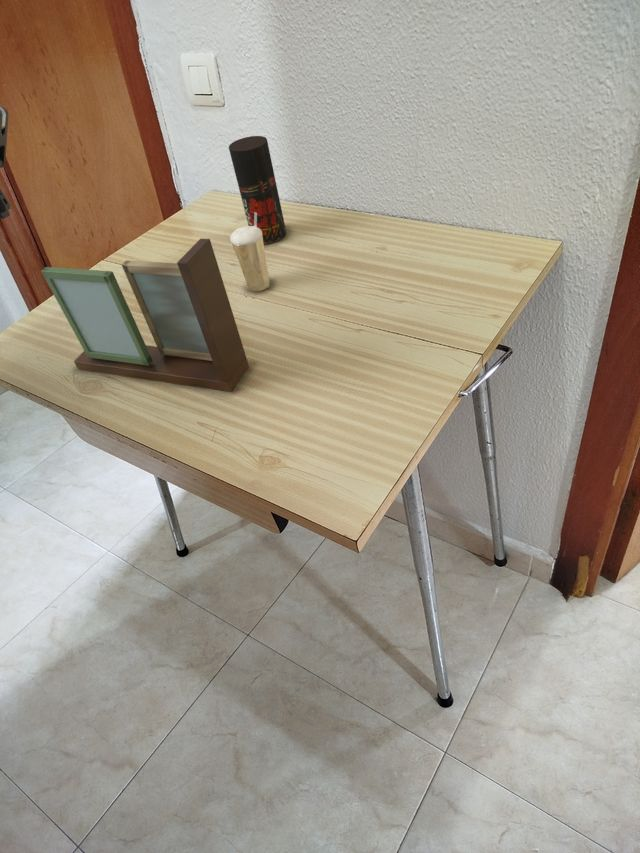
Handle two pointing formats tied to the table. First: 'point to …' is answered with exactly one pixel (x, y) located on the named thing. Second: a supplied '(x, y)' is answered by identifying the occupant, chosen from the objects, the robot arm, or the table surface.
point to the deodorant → (258, 186)
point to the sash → (98, 314)
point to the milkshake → (251, 255)
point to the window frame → (183, 324)
